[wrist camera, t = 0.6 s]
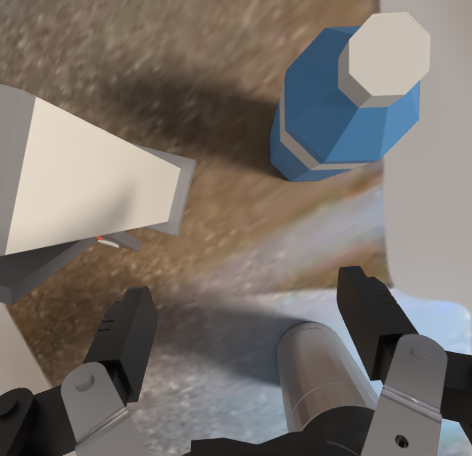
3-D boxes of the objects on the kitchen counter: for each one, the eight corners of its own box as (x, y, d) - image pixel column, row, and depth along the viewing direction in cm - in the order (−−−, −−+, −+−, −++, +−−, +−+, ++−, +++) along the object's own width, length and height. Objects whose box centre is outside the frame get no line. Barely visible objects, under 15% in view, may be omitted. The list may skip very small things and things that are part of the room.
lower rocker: (95, 230, 39) (57, 209, 30) (141, 242, 38) (116, 225, 30) (91, 241, 38) (51, 223, 29) (138, 253, 38) (111, 240, 29)
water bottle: (351, 166, 40) (518, 102, 15) (284, 195, 41) (336, 182, 16) (323, 98, 39) (446, -85, 14) (256, 129, 40) (262, 7, 15)
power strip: (102, 136, 41) (-241, -18, 12) (196, 161, 41) (65, 60, 12) (86, 209, 42) (-268, 222, 13) (178, 234, 42) (16, 301, 13)
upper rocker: (28, 210, 26) (-89, 261, 18) (96, 228, 26) (10, 288, 18) (29, 226, 27) (-84, 281, 18) (95, 244, 26) (12, 308, 18)
